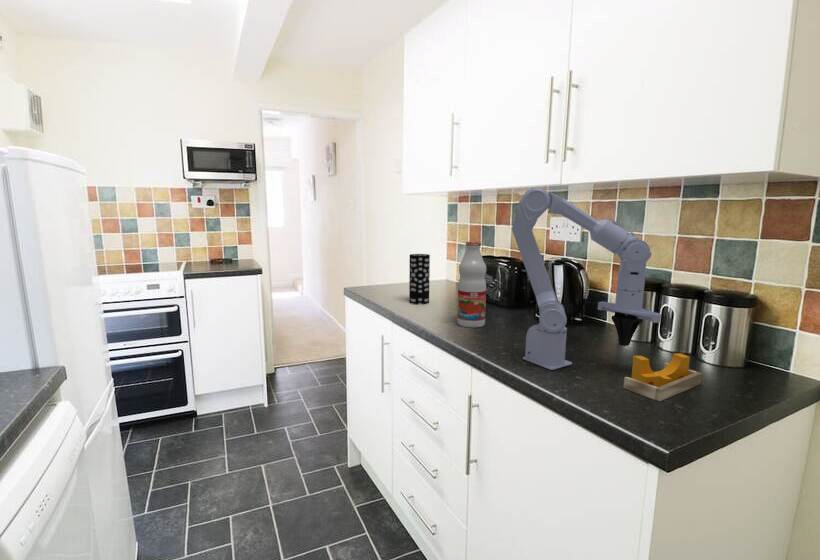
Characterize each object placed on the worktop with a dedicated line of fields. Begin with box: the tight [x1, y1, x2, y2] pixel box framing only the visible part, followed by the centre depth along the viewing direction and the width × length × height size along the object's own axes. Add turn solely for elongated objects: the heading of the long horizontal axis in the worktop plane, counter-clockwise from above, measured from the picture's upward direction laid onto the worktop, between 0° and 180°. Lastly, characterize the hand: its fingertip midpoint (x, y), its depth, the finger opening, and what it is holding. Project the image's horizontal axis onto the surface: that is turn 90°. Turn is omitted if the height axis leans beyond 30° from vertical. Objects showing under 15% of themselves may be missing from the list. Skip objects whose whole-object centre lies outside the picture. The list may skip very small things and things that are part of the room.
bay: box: [623, 362, 703, 402], centre depth 95 cm, size 8×17×2 cm, turn 122°
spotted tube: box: [408, 253, 431, 305], centre depth 177 cm, size 8×8×20 cm
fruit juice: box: [456, 241, 487, 328], centre depth 143 cm, size 9×9×28 cm
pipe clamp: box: [630, 353, 690, 387], centre depth 95 cm, size 12×4×6 cm, turn 99°
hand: (624, 344), depth 103 cm, fingers closed
